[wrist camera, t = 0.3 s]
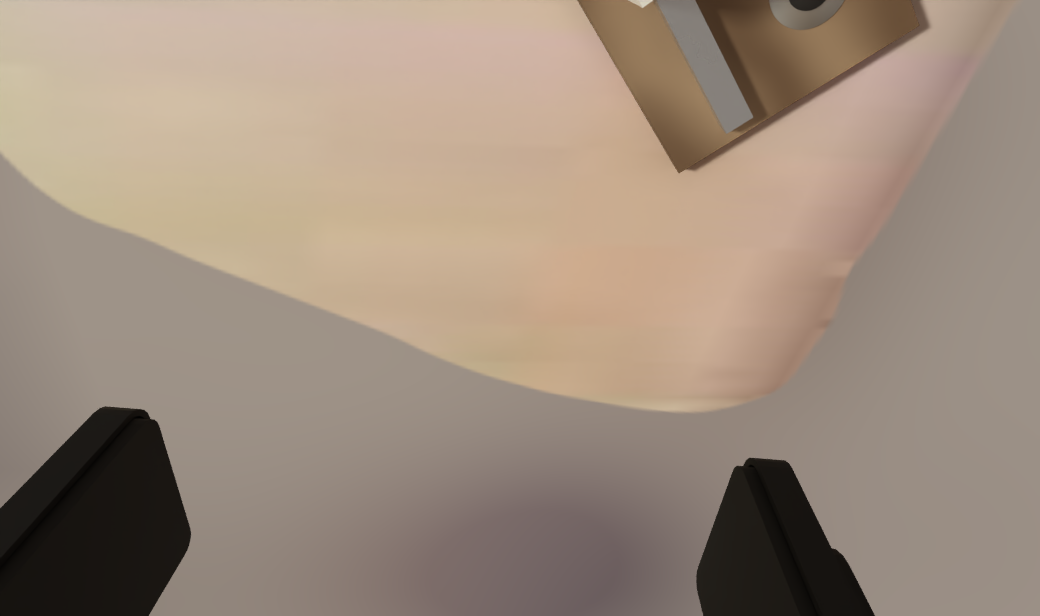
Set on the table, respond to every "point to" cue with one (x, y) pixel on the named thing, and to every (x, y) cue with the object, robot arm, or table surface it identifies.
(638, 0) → the sliding leg
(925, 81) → the table surface
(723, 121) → the beam
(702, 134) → the hole board
